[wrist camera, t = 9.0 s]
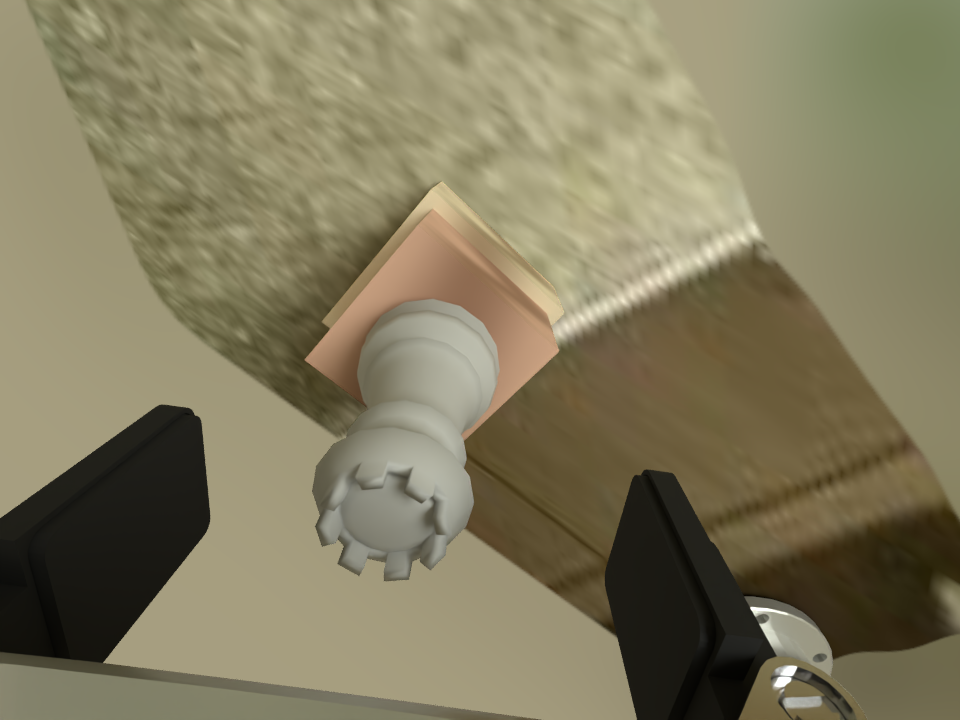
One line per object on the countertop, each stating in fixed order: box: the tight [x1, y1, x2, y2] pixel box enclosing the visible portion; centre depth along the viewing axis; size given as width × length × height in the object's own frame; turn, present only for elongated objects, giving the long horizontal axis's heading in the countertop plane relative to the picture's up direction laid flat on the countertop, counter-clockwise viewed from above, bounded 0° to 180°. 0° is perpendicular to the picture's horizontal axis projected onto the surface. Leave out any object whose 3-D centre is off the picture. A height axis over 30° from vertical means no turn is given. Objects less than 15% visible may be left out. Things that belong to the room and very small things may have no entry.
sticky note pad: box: [305, 182, 565, 440], centre depth 20 cm, size 7×7×8 cm
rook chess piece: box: [312, 299, 500, 581], centre depth 13 cm, size 4×4×8 cm
